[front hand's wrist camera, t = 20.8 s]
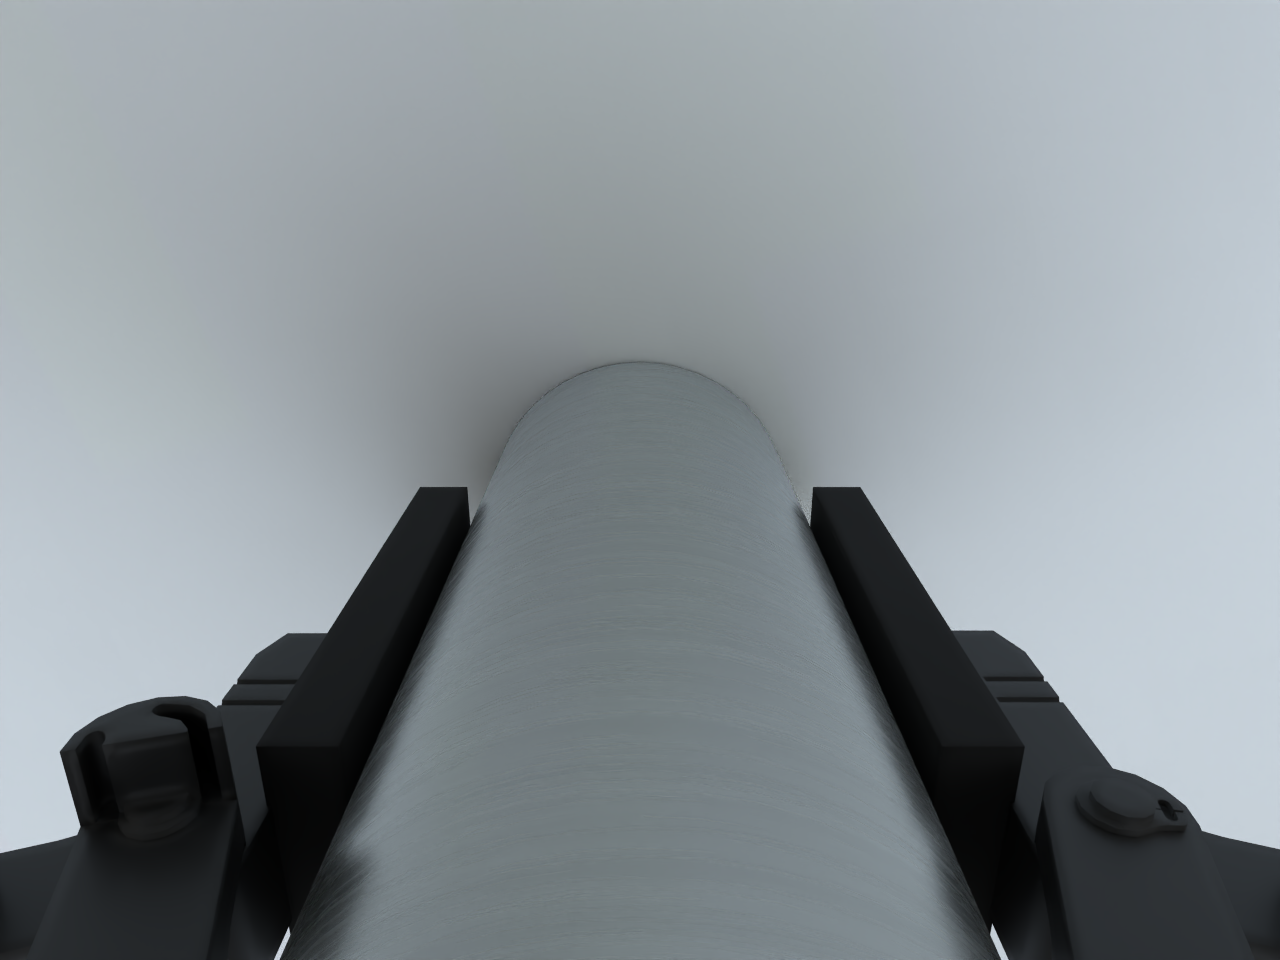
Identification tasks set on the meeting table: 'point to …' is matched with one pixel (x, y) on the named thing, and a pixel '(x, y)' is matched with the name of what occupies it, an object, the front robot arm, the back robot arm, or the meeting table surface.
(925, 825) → the tin
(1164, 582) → the meeting table surface
